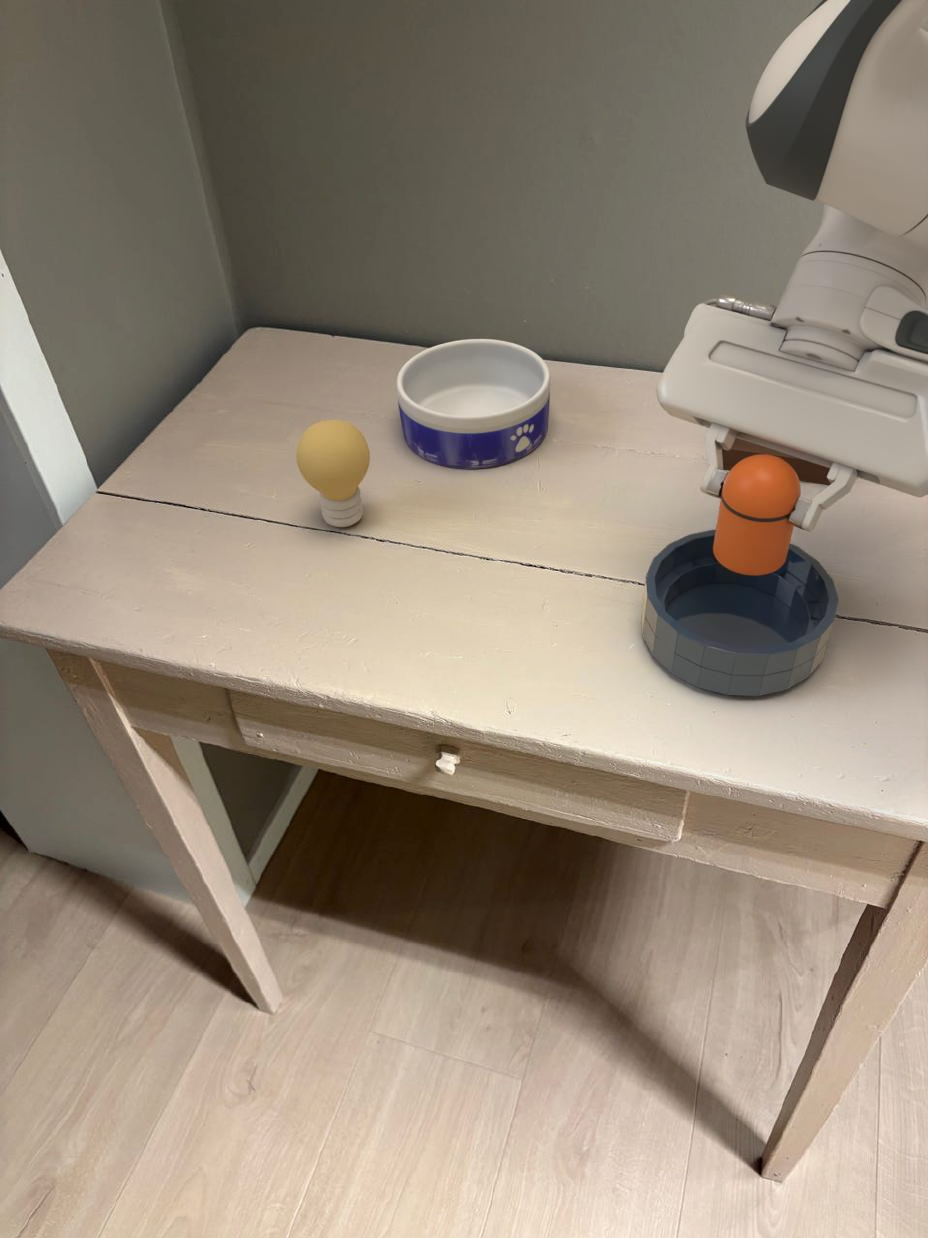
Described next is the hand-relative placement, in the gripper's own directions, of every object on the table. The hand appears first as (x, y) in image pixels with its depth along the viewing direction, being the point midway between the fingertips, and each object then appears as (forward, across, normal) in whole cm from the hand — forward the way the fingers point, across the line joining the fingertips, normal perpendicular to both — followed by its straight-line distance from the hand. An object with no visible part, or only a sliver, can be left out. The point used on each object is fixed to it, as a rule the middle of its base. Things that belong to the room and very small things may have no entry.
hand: (754, 511), depth 67 cm
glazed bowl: (+8, 0, +9) cm, 13 cm away
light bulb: (+13, -36, +4) cm, 39 cm away
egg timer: (+2, 0, +3) cm, 4 cm away
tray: (-10, -8, +28) cm, 31 cm away
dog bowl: (0, -35, +18) cm, 39 cm away
